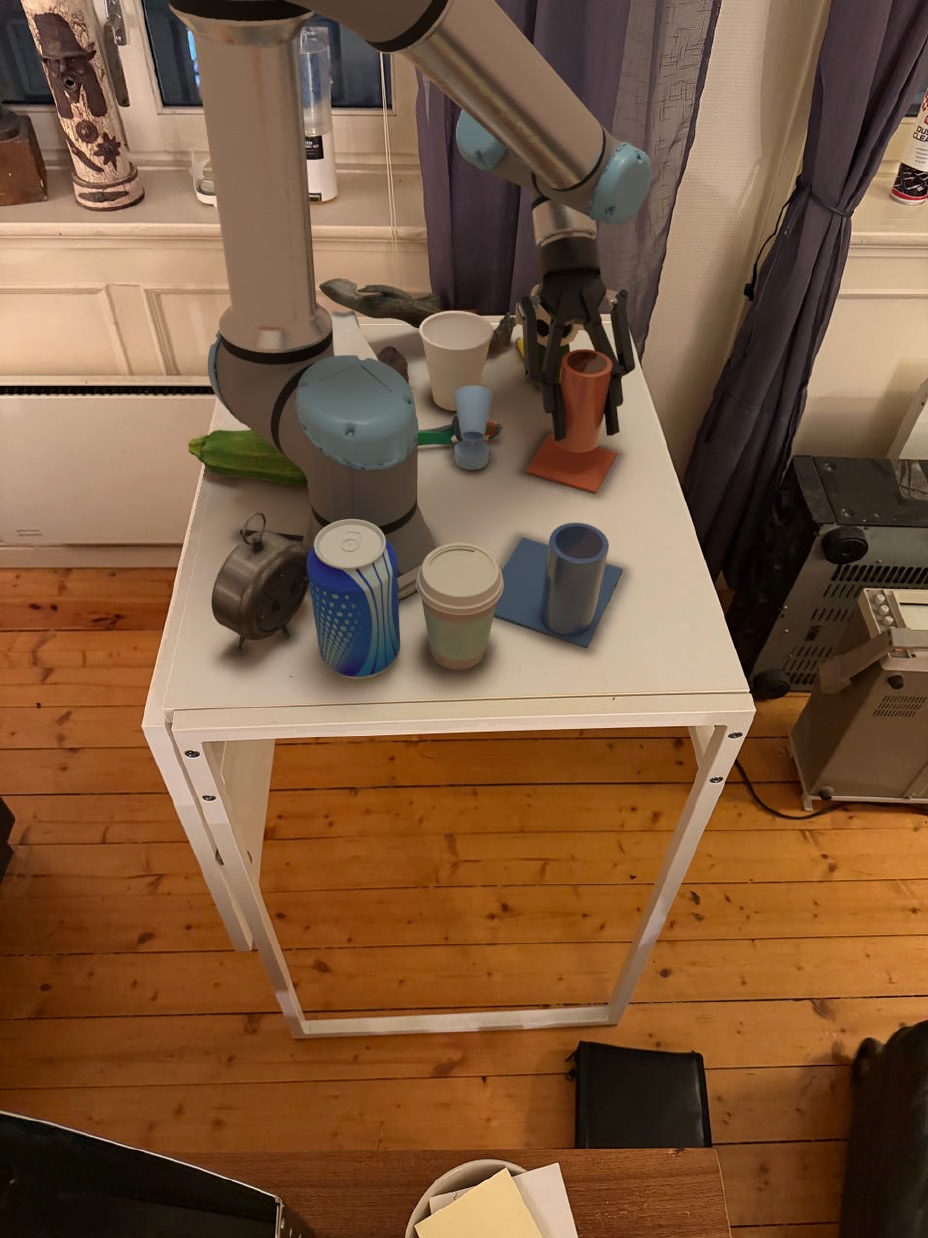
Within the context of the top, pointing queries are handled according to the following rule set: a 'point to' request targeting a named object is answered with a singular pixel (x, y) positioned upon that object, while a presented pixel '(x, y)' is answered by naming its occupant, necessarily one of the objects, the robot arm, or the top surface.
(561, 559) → the blue tumbler
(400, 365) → the stone
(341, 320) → the spoon rest
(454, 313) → the cup
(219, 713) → the top surface
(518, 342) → the light bulb
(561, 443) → the terracotta tumbler
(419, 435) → the knife
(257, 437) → the vegetable
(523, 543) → the blue mat
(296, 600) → the alarm clock
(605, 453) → the terracotta mat
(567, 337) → the character mug
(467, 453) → the spotlight
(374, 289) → the statue
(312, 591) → the beer can
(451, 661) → the coffee cup
